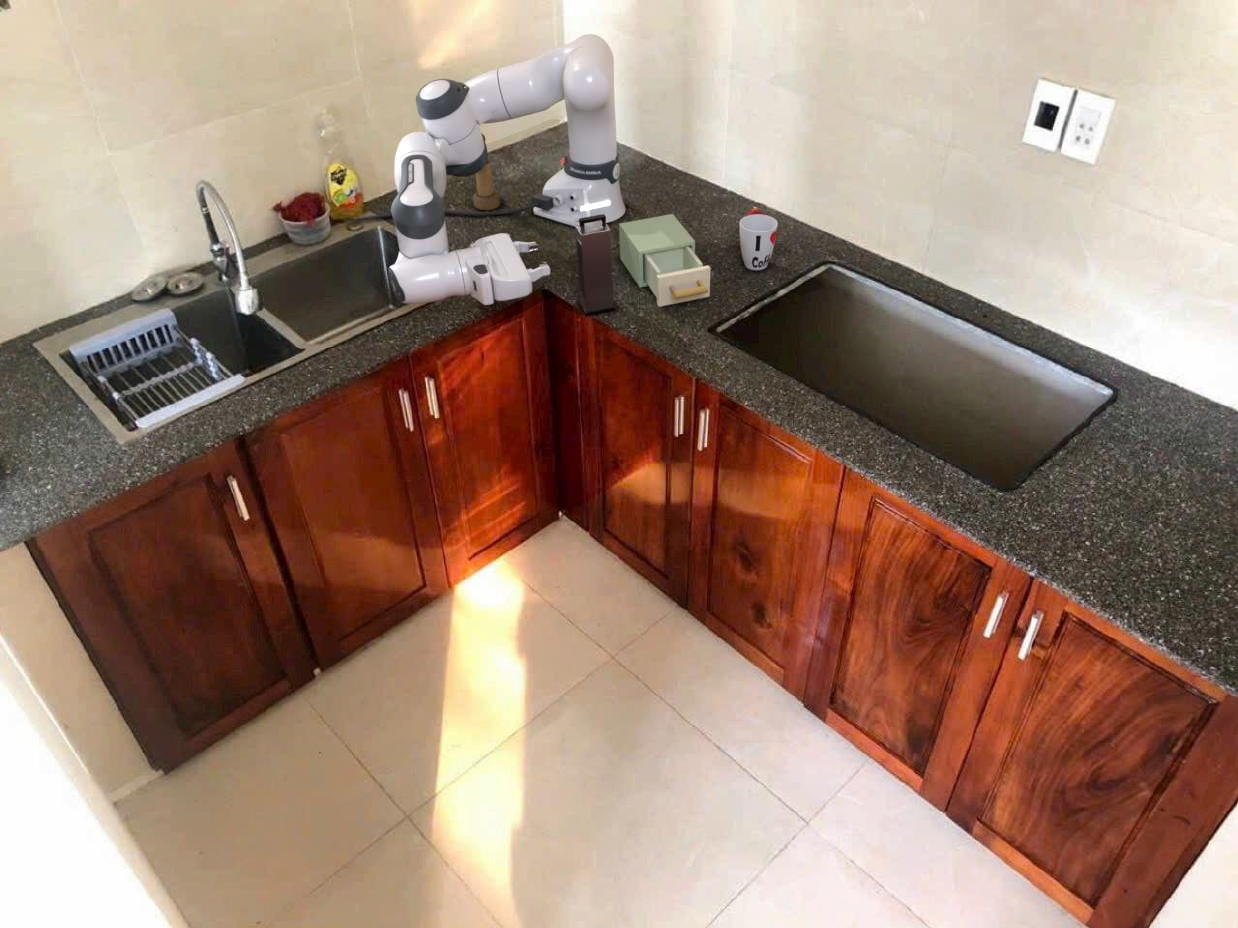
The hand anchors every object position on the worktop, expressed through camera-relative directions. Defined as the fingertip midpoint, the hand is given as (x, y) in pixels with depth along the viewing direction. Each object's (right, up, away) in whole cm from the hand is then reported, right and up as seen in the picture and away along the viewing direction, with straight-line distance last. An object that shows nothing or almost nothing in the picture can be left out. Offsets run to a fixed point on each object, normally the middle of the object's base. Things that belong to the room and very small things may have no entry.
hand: (543, 257), depth 197 cm
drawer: (+27, -4, +13) cm, 31 cm away
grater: (+10, -8, +11) cm, 17 cm away
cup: (+45, +3, +23) cm, 51 cm away
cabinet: (+23, +3, +23) cm, 33 cm away
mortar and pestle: (-18, +23, +50) cm, 58 cm away
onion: (+46, +11, +32) cm, 57 cm away
